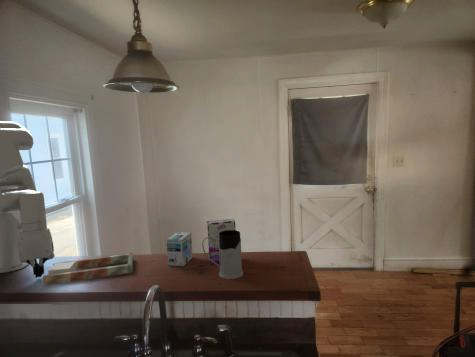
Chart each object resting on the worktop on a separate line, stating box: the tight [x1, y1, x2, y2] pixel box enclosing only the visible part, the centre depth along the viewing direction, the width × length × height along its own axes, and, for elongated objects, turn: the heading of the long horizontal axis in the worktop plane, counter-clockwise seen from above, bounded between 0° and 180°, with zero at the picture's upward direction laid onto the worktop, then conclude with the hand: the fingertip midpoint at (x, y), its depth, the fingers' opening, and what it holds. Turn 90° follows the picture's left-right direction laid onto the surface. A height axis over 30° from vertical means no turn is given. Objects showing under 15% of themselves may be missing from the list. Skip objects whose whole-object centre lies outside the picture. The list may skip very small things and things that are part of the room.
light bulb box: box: [166, 231, 193, 267], centre depth 122 cm, size 11×7×11 cm, turn 168°
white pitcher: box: [201, 230, 244, 280], centre depth 108 cm, size 9×14×15 cm, turn 91°
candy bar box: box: [206, 218, 237, 265], centre depth 121 cm, size 11×5×16 cm, turn 102°
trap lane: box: [42, 252, 134, 286], centre depth 115 cm, size 29×14×3 cm, turn 107°
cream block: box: [47, 261, 77, 275], centre depth 112 cm, size 7×7×4 cm
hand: (39, 275), depth 110 cm, fingers closed
